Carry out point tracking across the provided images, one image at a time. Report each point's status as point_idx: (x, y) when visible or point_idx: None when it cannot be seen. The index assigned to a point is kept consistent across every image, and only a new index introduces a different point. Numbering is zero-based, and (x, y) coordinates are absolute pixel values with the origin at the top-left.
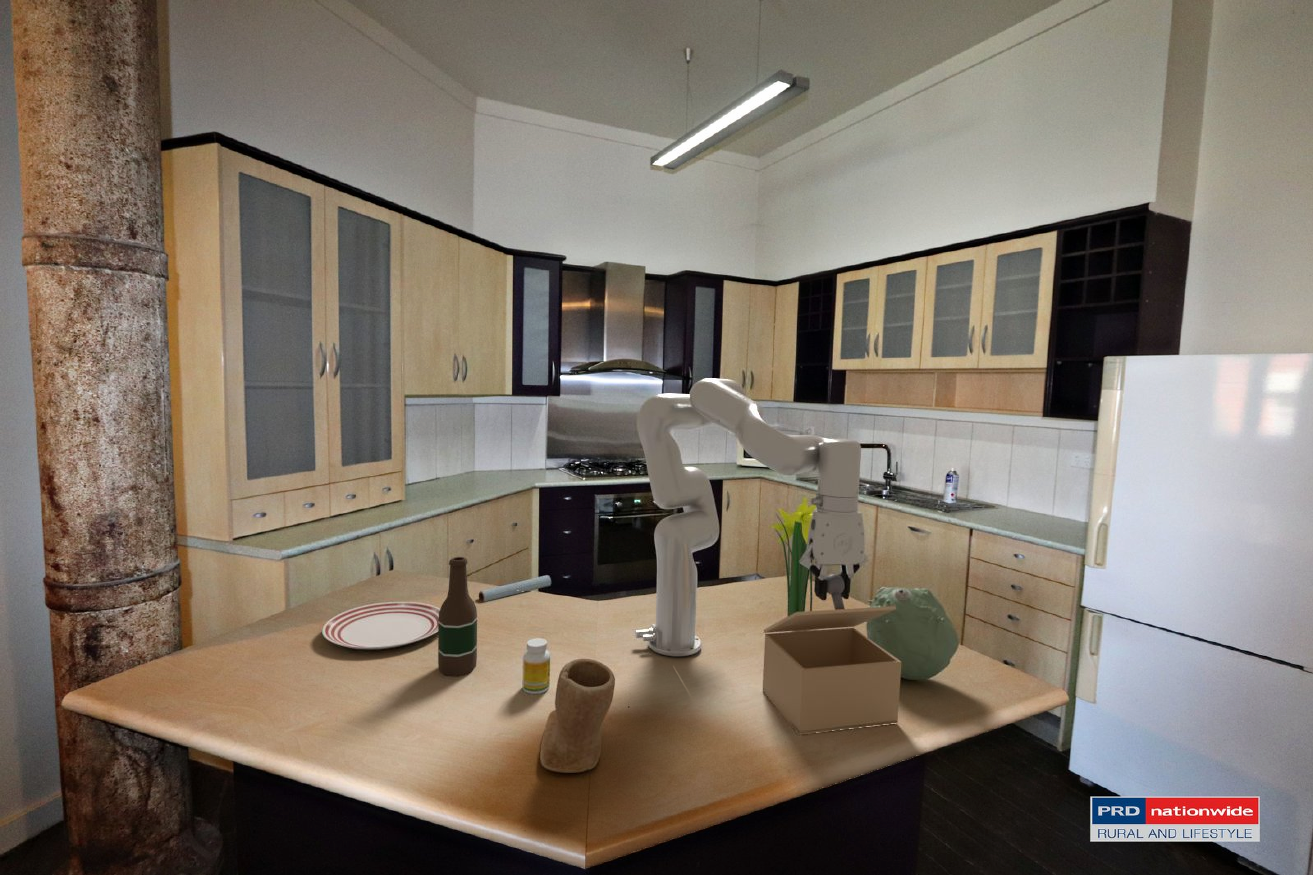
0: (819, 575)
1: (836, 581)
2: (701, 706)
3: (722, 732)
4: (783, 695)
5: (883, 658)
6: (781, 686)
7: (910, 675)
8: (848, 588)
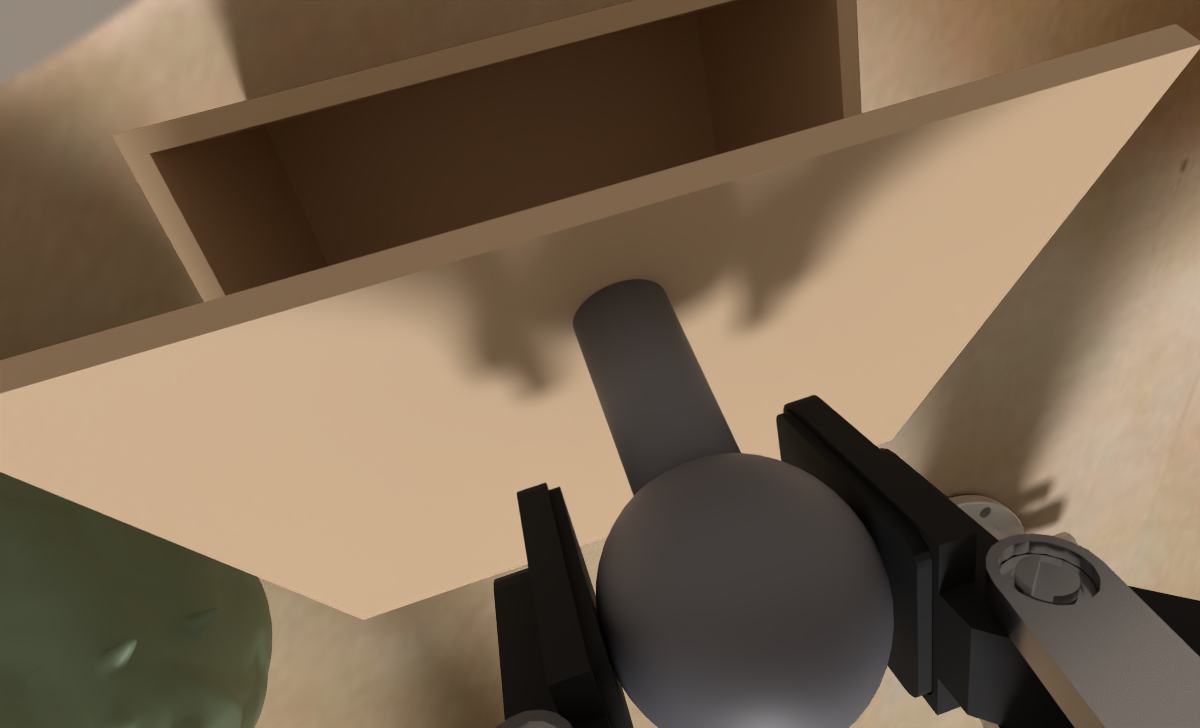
0: (1116, 577)
1: (794, 557)
2: None
3: (963, 11)
4: None
5: (240, 281)
6: None
7: None
8: (543, 568)
